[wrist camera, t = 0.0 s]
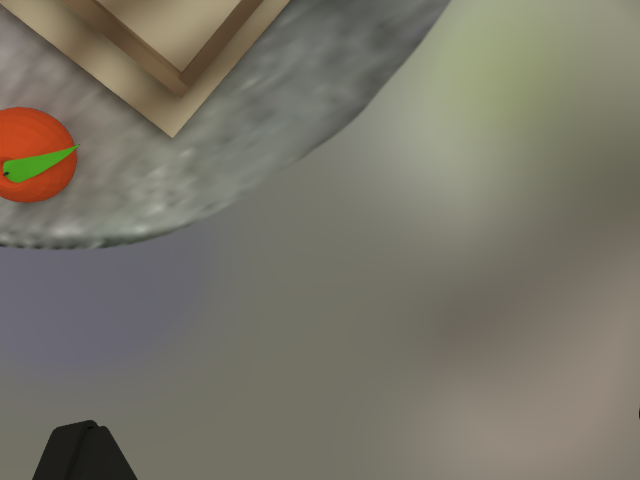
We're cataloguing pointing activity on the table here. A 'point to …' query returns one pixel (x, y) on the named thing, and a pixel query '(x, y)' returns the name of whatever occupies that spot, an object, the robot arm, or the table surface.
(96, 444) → the robot arm
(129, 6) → the board
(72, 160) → the clementine
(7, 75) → the table surface
